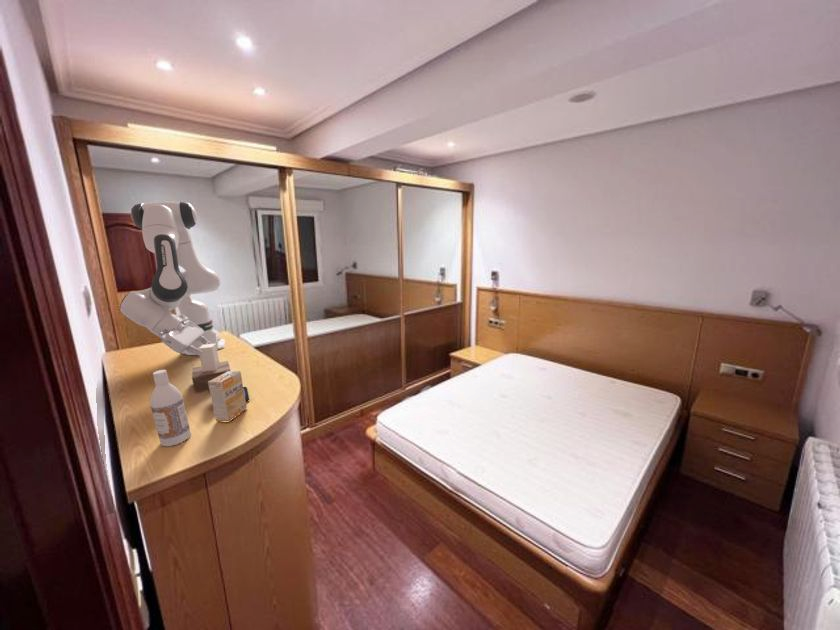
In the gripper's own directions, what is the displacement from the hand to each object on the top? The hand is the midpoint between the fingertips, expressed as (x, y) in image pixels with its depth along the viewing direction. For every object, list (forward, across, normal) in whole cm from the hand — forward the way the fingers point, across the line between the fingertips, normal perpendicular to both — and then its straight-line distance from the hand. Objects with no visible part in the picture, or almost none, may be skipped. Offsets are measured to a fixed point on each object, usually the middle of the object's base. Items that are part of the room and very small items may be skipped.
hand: (205, 349), depth 128 cm
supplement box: (+19, -30, 0) cm, 36 cm away
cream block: (+6, 0, +5) cm, 8 cm away
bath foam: (+11, -39, +9) cm, 41 cm away
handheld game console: (+17, -18, +3) cm, 24 cm away
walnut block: (+10, 0, +9) cm, 14 cm away
